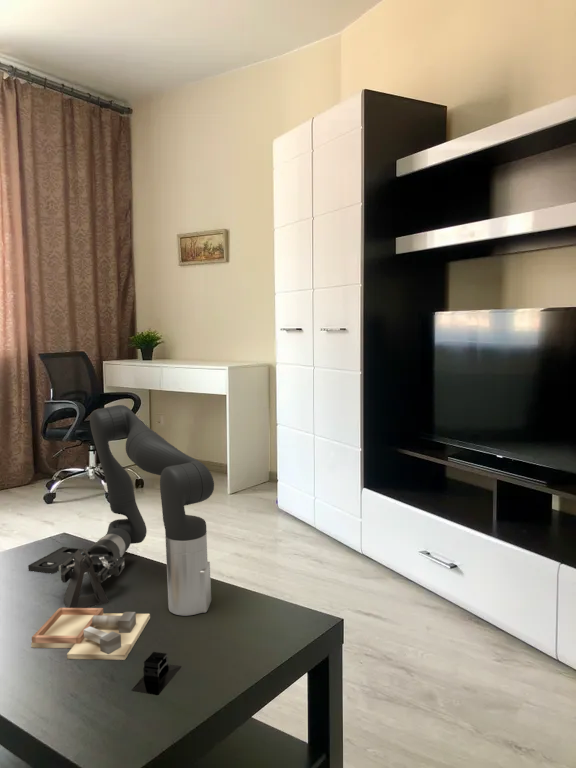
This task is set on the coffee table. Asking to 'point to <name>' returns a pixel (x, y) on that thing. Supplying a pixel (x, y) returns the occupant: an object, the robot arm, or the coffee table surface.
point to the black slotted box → (156, 674)
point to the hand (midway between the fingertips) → (81, 578)
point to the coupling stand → (91, 633)
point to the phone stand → (76, 582)
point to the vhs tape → (53, 560)
